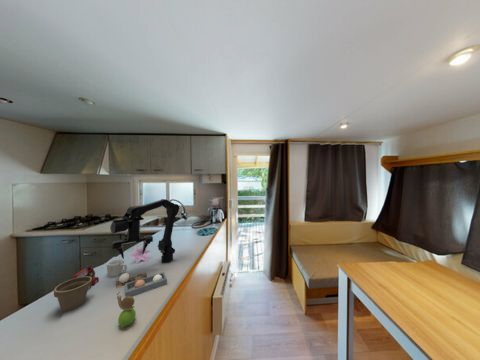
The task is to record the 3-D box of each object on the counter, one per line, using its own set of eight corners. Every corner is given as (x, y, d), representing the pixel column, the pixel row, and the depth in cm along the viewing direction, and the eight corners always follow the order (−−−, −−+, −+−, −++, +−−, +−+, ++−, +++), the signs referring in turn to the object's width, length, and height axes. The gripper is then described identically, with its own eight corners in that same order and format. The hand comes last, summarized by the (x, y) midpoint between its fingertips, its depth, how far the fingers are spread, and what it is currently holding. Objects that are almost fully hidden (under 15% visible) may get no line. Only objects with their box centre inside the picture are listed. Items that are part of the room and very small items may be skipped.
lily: (125, 265, 106) (128, 255, 103) (134, 251, 117) (136, 241, 114) (144, 268, 109) (147, 258, 106) (151, 255, 120) (154, 245, 117)
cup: (131, 272, 96) (131, 258, 96) (120, 280, 88) (120, 265, 88) (115, 271, 97) (115, 258, 97) (102, 279, 89) (102, 264, 89)
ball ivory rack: (129, 278, 88) (129, 270, 88) (129, 282, 84) (129, 274, 84) (119, 281, 85) (119, 273, 85) (118, 286, 82) (119, 277, 82)
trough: (163, 278, 90) (163, 272, 90) (166, 286, 83) (166, 279, 83) (125, 291, 79) (125, 283, 79) (125, 300, 73) (125, 292, 73)
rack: (146, 274, 94) (146, 271, 94) (147, 280, 88) (147, 277, 88) (116, 283, 86) (116, 280, 86) (115, 290, 80) (115, 287, 80)
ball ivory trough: (161, 280, 88) (161, 271, 88) (162, 284, 84) (163, 275, 84) (151, 283, 85) (152, 274, 85) (153, 287, 81) (153, 278, 81)
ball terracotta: (145, 290, 79) (145, 281, 79) (134, 293, 76) (134, 284, 77) (144, 285, 83) (144, 276, 83) (133, 288, 80) (134, 279, 80)
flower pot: (74, 296, 75) (75, 275, 75) (98, 297, 75) (98, 275, 75) (43, 317, 64) (44, 291, 64) (71, 318, 63) (72, 292, 64)
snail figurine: (121, 318, 63) (122, 287, 63) (138, 317, 64) (139, 287, 64) (111, 331, 58) (112, 297, 58) (130, 330, 58) (131, 296, 59)
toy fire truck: (101, 281, 88) (101, 261, 88) (82, 296, 75) (83, 274, 76) (86, 282, 86) (87, 262, 87) (65, 298, 74) (66, 275, 74)
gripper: (150, 223, 103) (149, 248, 103) (113, 228, 92) (112, 255, 91) (153, 227, 94) (152, 254, 94) (112, 233, 83) (112, 263, 83)
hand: (133, 256), depth 91 cm, fingers open, 9 cm apart
